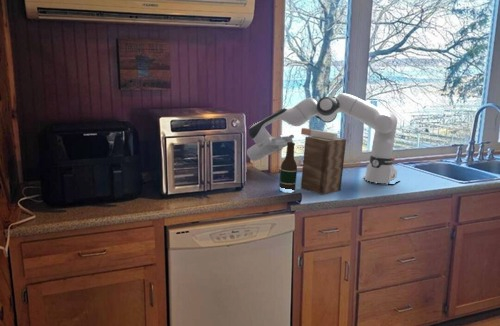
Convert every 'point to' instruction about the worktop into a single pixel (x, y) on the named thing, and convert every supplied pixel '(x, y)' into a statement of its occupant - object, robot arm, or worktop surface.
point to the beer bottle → (288, 169)
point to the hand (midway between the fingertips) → (287, 136)
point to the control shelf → (323, 164)
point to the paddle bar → (319, 133)
